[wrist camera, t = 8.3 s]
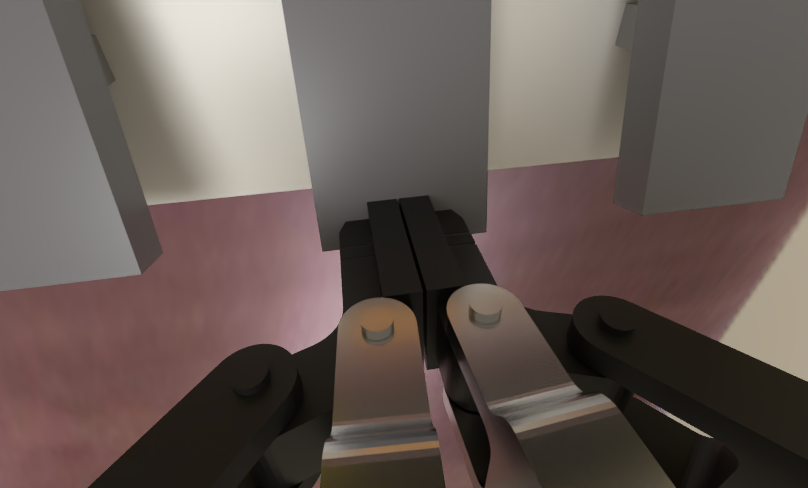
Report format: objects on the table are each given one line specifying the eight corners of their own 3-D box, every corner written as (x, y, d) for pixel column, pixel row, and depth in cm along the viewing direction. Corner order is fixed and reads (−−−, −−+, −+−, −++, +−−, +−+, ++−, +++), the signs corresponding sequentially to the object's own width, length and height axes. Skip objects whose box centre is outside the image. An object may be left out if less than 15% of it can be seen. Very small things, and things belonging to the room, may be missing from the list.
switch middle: (474, -177, 8) (497, -219, 7) (472, 215, 11) (487, 232, 10) (260, -175, 7) (245, -220, 6) (324, 232, 11) (322, 252, 9)
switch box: (756, -156, 13) (988, -202, 8) (665, 96, 18) (780, 152, 13) (-160, -141, 10) (-540, -197, 6) (29, 151, 15) (-97, 245, 11)
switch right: (829, -173, 9) (905, -214, 8) (741, 188, 12) (785, 199, 11) (658, -171, 8) (711, -213, 7) (612, 202, 11) (644, 216, 10)
